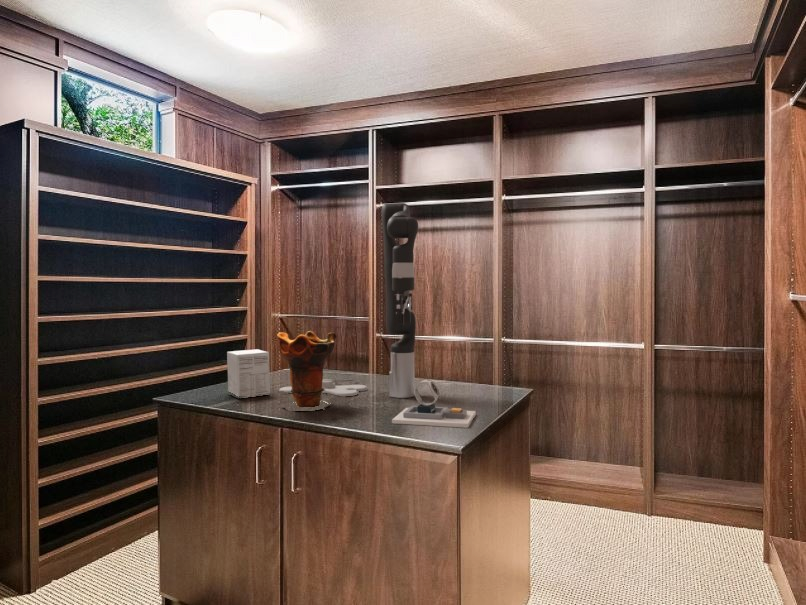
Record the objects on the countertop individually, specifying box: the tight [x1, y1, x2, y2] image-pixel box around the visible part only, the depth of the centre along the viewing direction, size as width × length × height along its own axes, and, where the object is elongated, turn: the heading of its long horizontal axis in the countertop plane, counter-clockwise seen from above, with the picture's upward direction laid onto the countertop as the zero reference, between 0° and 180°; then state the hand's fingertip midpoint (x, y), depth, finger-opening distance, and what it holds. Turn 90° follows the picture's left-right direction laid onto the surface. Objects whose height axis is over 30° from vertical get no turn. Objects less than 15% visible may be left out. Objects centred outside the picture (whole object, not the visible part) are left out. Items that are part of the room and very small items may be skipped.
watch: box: [414, 379, 440, 414], centre depth 182 cm, size 6×8×11 cm
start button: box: [450, 407, 463, 413], centre depth 179 cm, size 3×3×2 cm
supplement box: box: [226, 348, 271, 397], centre depth 224 cm, size 13×13×18 cm
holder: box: [278, 378, 368, 397], centre depth 231 cm, size 19×34×5 cm, turn 72°
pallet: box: [391, 405, 477, 429], centre depth 181 cm, size 24×17×3 cm
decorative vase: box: [276, 330, 337, 409], centre depth 202 cm, size 21×23×28 cm
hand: (403, 324), depth 190 cm, fingers open, 8 cm apart
